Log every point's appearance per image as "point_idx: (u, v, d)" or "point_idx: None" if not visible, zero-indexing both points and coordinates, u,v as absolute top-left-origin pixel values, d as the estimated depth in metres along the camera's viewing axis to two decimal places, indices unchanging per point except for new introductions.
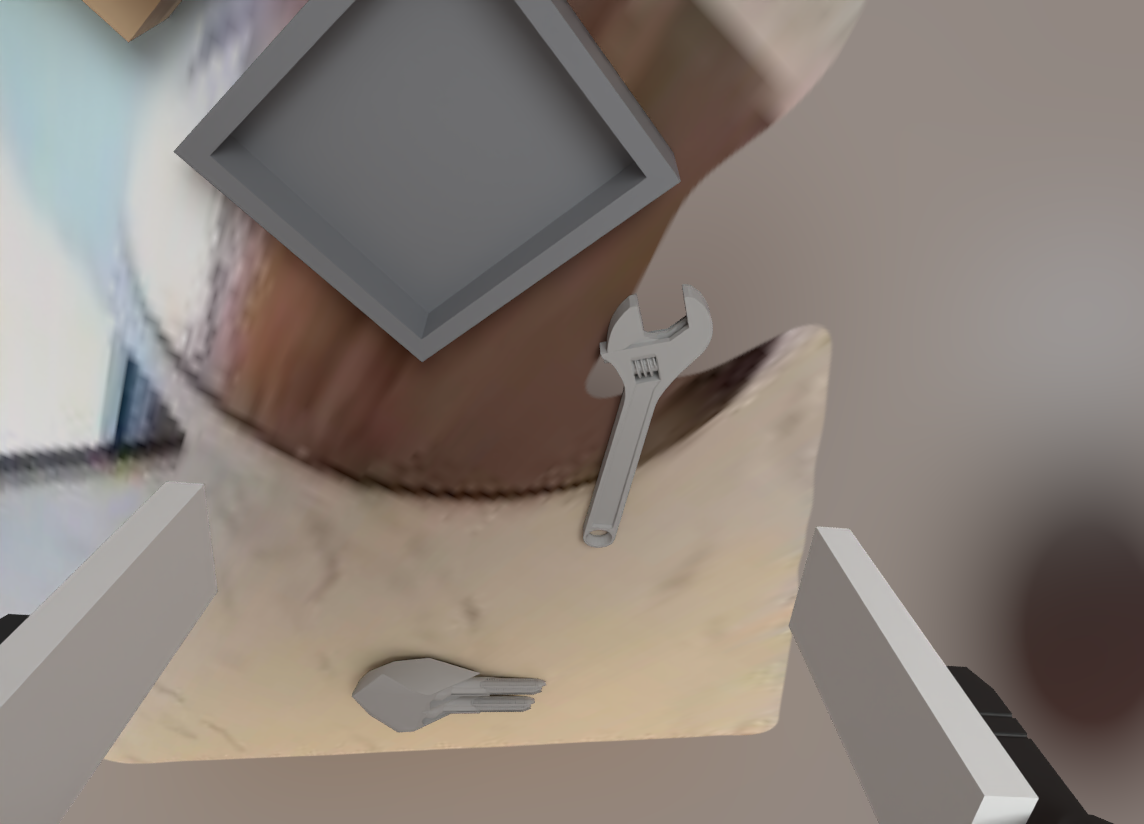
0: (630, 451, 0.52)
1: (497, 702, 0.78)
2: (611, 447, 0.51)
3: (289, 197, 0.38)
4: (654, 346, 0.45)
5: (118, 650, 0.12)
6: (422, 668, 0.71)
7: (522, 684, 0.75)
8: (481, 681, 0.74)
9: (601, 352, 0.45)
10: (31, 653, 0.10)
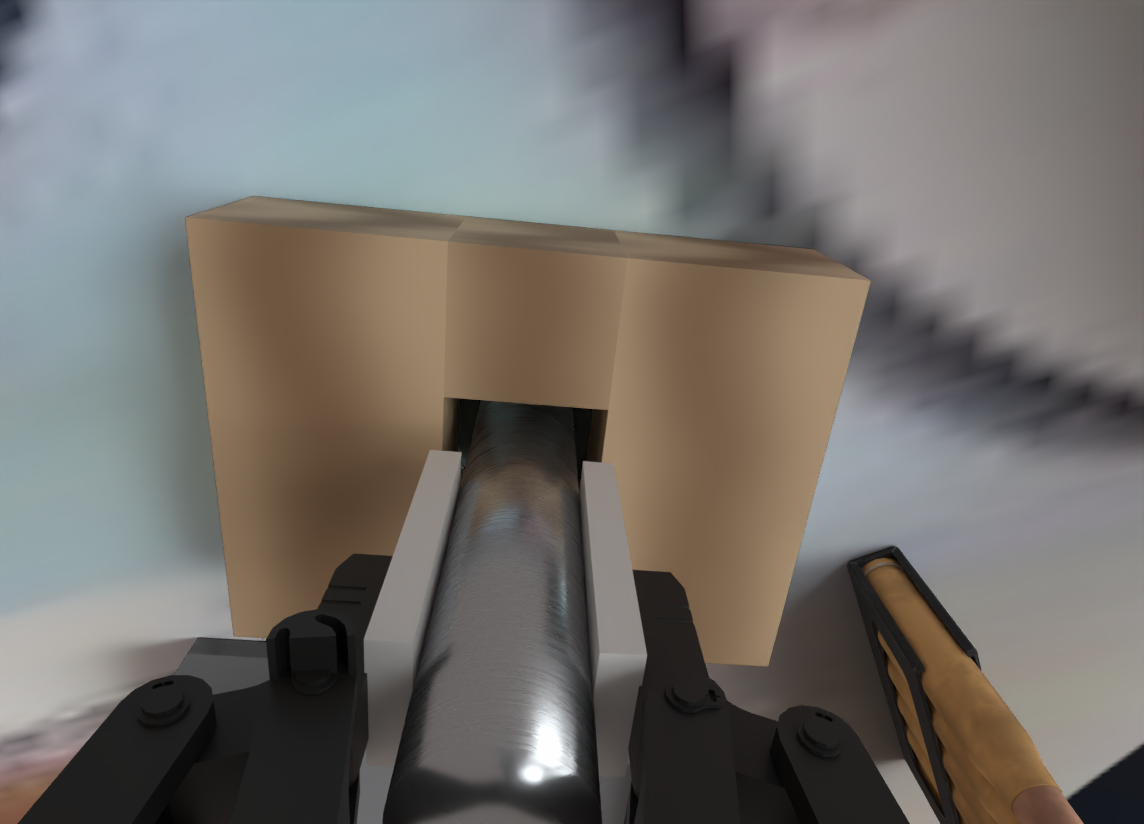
0: None
1: None
2: None
3: None
4: None
5: None
6: None
7: None
8: None
9: None
10: (416, 577, 0.12)
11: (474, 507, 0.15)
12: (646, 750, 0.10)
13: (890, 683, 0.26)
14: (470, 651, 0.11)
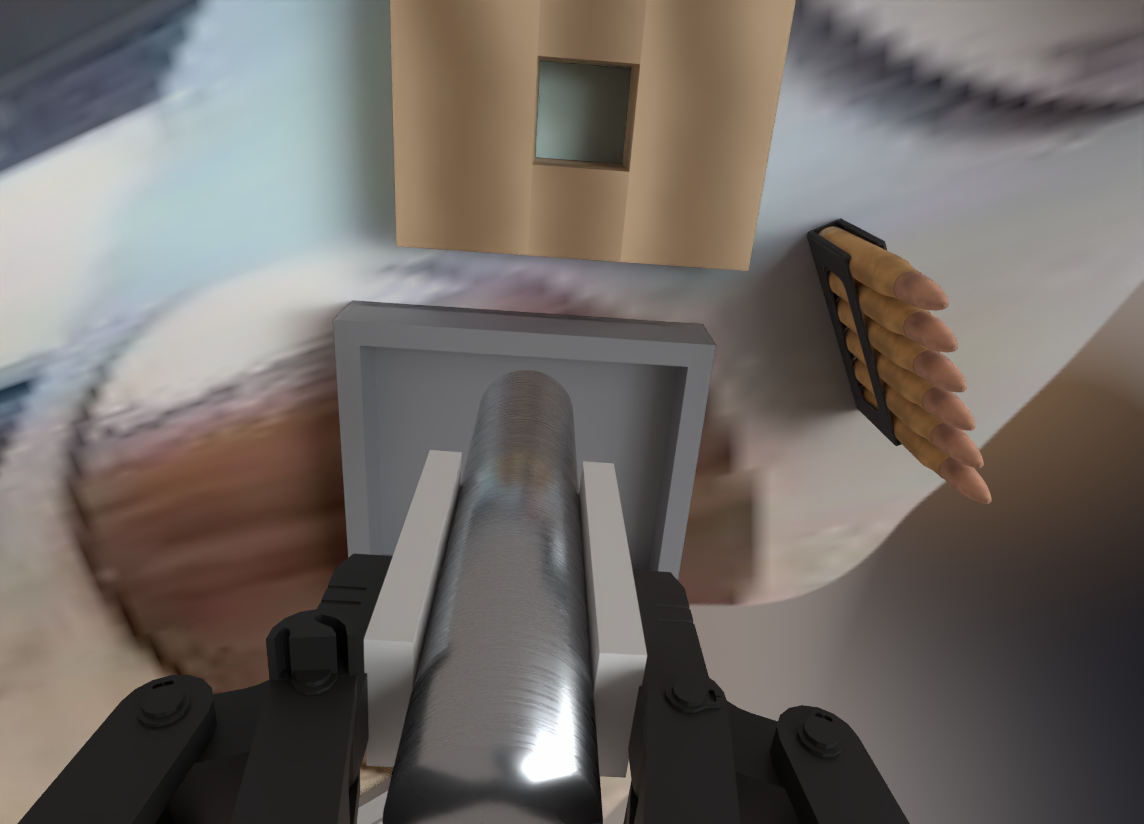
0: None
1: None
2: None
3: (372, 404, 0.38)
4: None
5: None
6: None
7: None
8: None
9: None
10: (416, 577, 0.12)
11: (475, 505, 0.15)
12: (646, 750, 0.10)
13: (840, 325, 0.37)
14: (470, 649, 0.11)
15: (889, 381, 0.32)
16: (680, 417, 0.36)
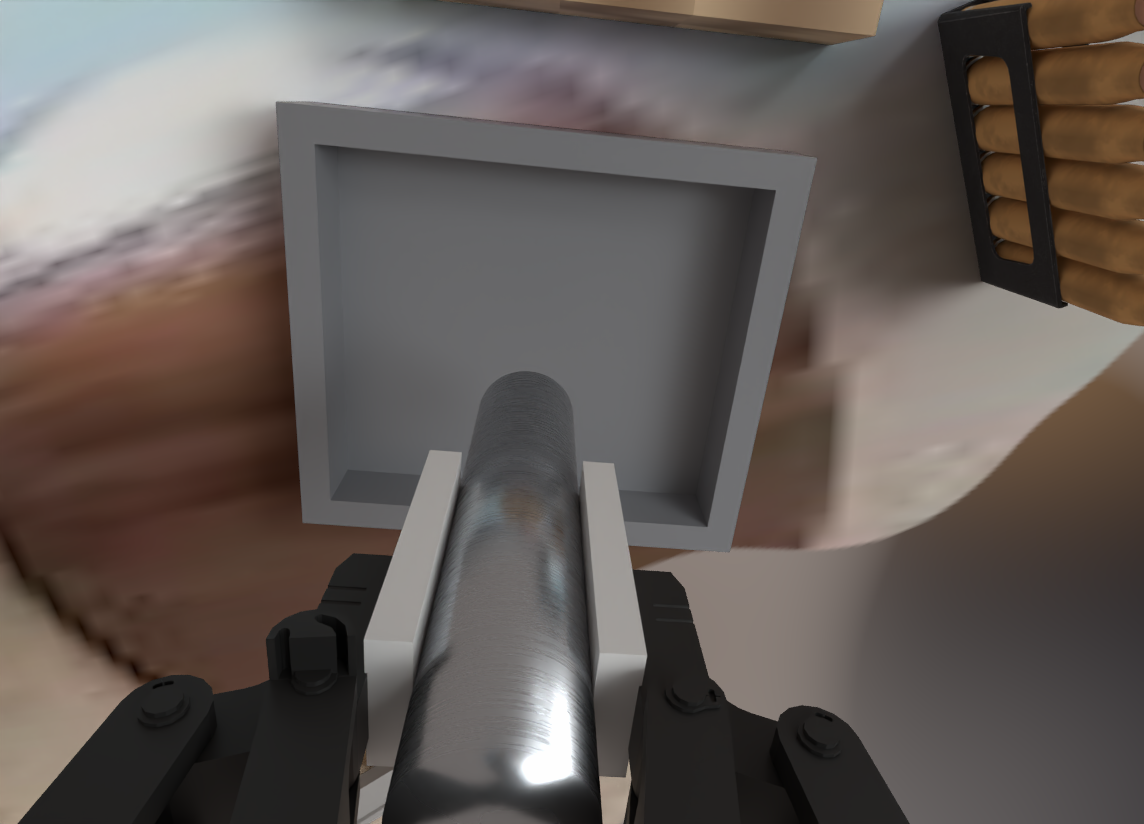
0: None
1: None
2: (390, 771, 0.39)
3: (335, 249, 0.27)
4: None
5: None
6: None
7: None
8: None
9: None
10: (416, 577, 0.12)
11: (474, 507, 0.15)
12: (646, 750, 0.10)
13: (977, 151, 0.27)
14: (470, 651, 0.11)
15: (1073, 196, 0.23)
16: (759, 268, 0.26)
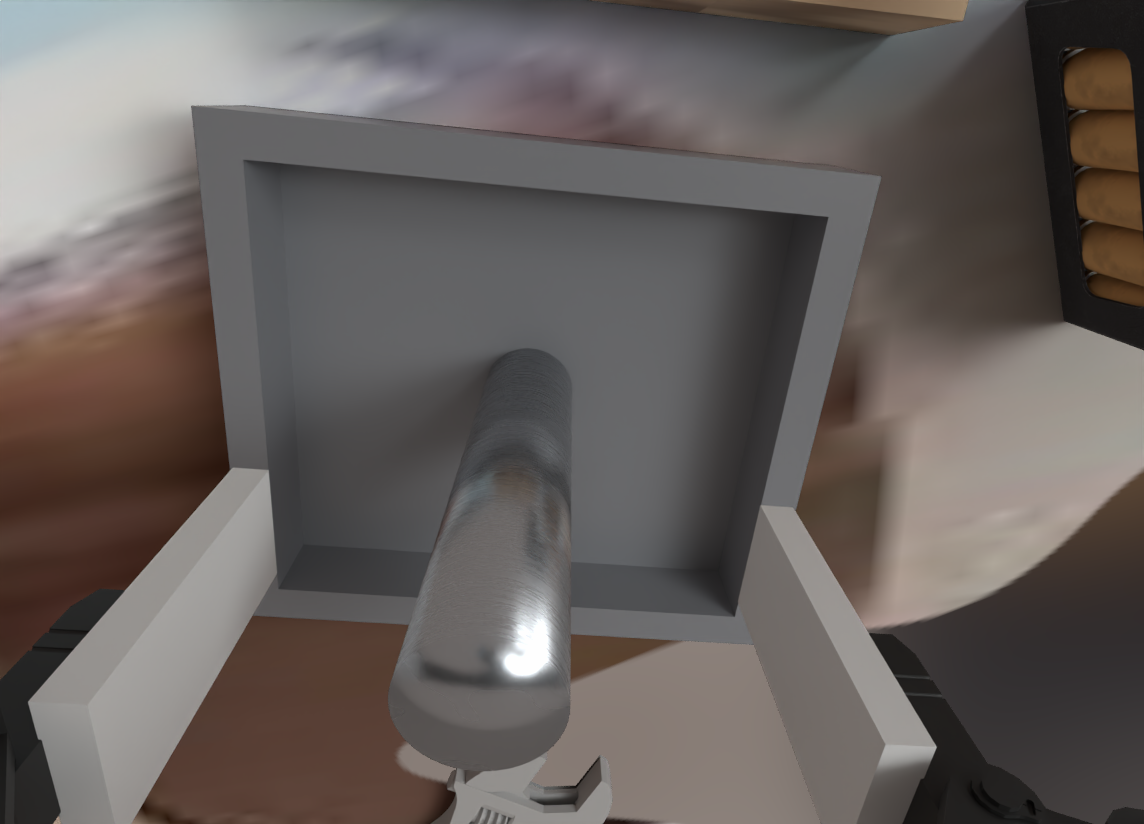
0: None
1: None
2: None
3: (279, 287, 0.22)
4: (522, 808, 0.32)
5: (201, 623, 0.13)
6: None
7: None
8: None
9: (457, 778, 0.32)
10: (134, 621, 0.11)
11: (475, 460, 0.17)
12: None
13: (1071, 166, 0.22)
14: (464, 567, 0.13)
15: None
16: (805, 312, 0.21)
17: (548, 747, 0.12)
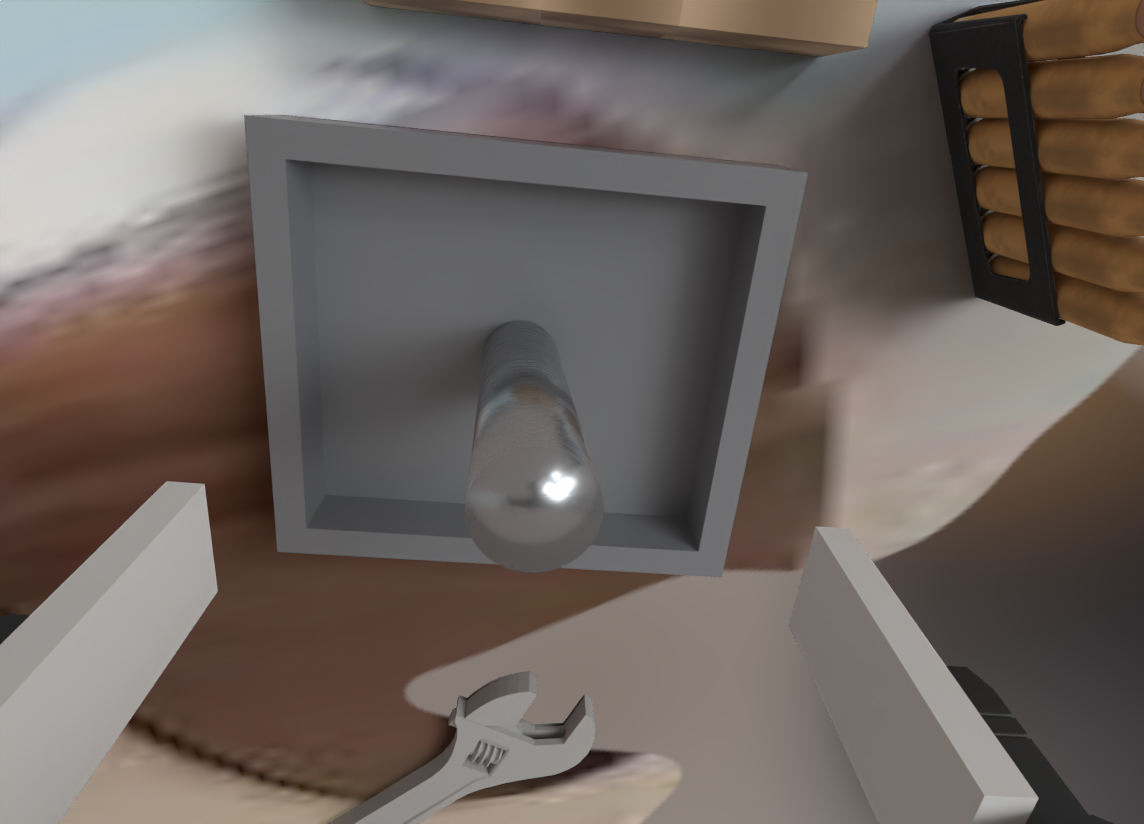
0: None
1: None
2: (370, 814, 0.38)
3: (309, 267, 0.26)
4: (515, 741, 0.36)
5: (118, 650, 0.12)
6: None
7: None
8: None
9: (457, 713, 0.36)
10: (31, 653, 0.10)
11: (498, 378, 0.21)
12: None
13: (970, 164, 0.26)
14: (513, 422, 0.17)
15: (1071, 212, 0.22)
16: (750, 285, 0.25)
17: (586, 548, 0.16)
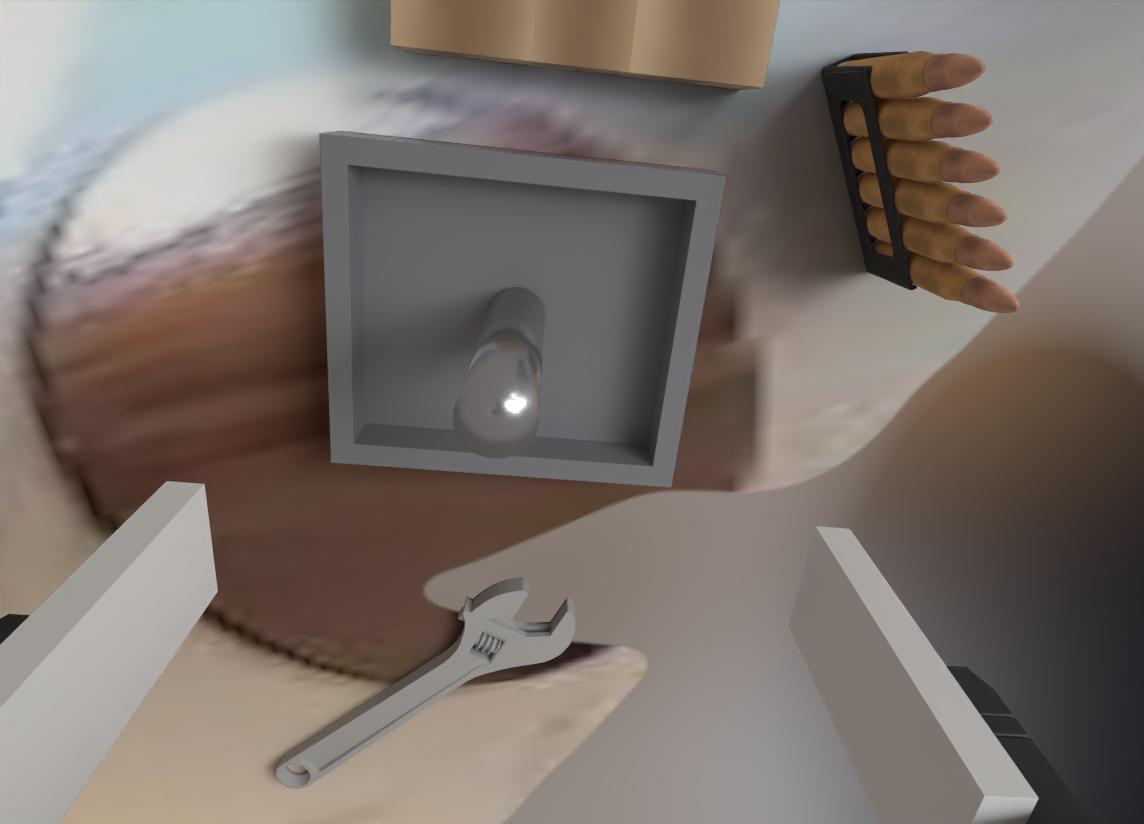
0: (406, 708, 0.48)
1: None
2: (394, 694, 0.47)
3: (359, 244, 0.35)
4: (511, 632, 0.46)
5: (118, 650, 0.12)
6: None
7: None
8: None
9: (465, 609, 0.45)
10: (31, 653, 0.10)
11: (488, 333, 0.30)
12: None
13: (853, 170, 0.35)
14: (487, 364, 0.26)
15: (908, 206, 0.31)
16: (686, 259, 0.34)
17: (528, 445, 0.25)
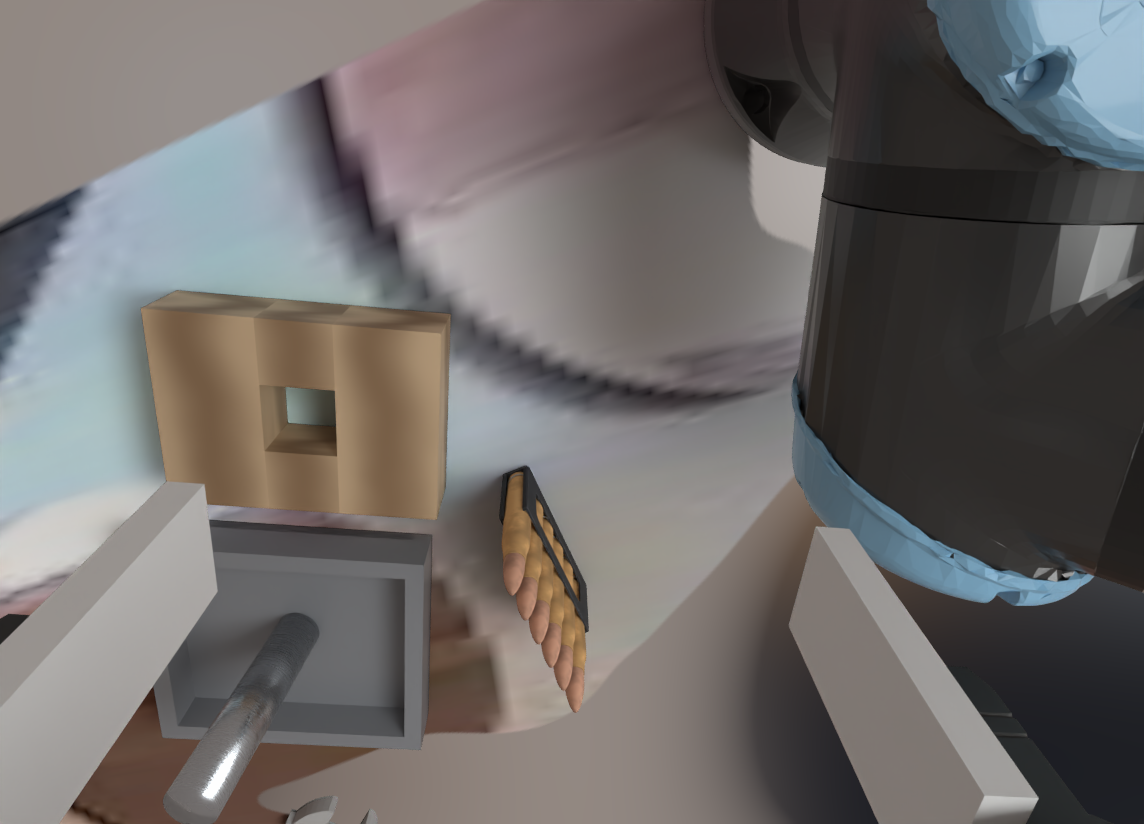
0: None
1: None
2: None
3: None
4: None
5: (118, 650, 0.12)
6: None
7: None
8: None
9: (287, 822, 0.58)
10: (31, 653, 0.10)
11: (231, 697, 0.43)
12: None
13: None
14: (197, 758, 0.39)
15: None
16: (405, 612, 0.47)
17: (214, 821, 0.38)
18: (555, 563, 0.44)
